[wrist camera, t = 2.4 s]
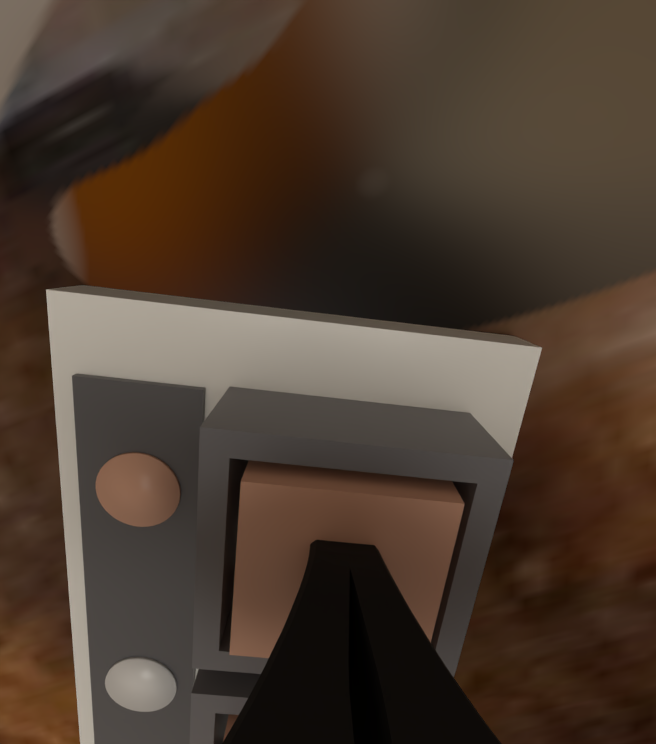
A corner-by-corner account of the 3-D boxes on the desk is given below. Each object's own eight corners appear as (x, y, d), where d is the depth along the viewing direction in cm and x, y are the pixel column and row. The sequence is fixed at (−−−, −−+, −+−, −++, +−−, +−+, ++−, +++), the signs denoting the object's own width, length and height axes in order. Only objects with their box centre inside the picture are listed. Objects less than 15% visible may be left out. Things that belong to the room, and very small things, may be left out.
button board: (382, 859, 18) (398, 1024, 14) (111, 842, 17) (50, 1007, 14) (514, 335, 11) (611, 377, 7) (83, 284, 11) (-50, 300, 7)
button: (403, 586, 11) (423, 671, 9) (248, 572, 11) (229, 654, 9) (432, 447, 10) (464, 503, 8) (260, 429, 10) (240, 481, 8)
